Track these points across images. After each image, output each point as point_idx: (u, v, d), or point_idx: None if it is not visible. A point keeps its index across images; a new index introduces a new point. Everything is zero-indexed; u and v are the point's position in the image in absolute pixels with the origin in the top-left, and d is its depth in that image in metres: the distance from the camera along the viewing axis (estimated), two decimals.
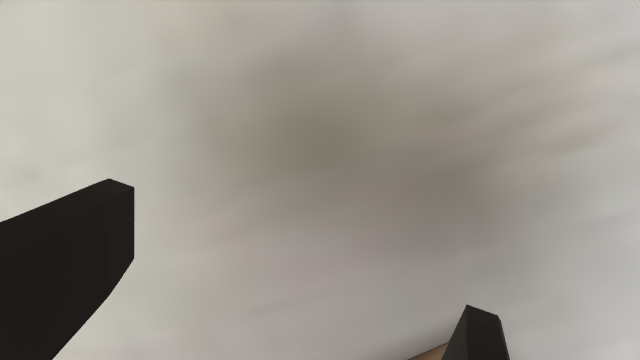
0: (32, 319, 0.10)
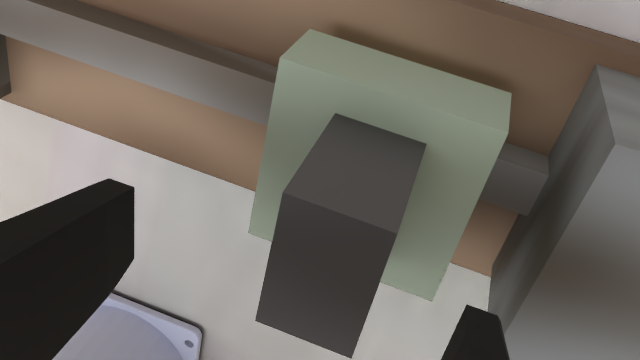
0: (32, 319, 0.10)
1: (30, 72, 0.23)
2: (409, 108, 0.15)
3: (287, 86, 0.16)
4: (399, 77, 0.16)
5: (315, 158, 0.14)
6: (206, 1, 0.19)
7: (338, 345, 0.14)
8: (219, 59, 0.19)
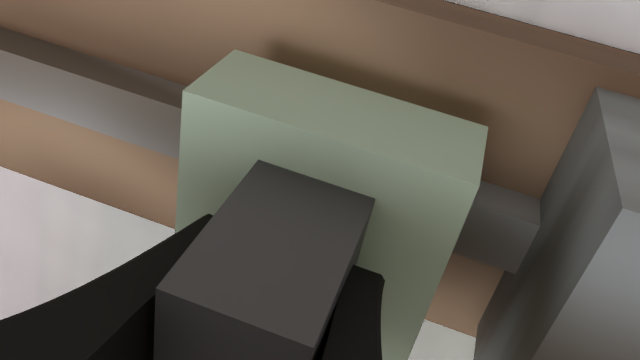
0: None
1: None
2: (350, 154, 0.11)
3: (196, 126, 0.12)
4: (342, 111, 0.12)
5: (216, 230, 0.10)
6: (120, 16, 0.16)
7: None
8: (137, 86, 0.16)
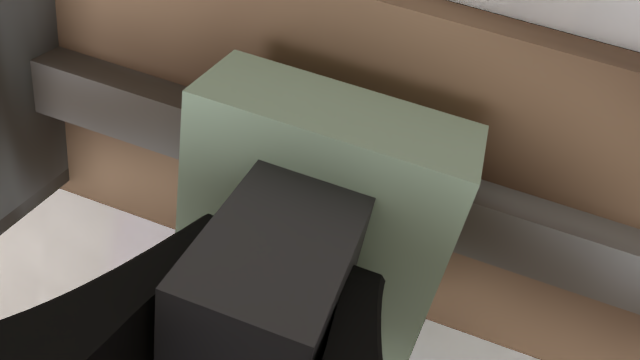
0: None
1: (94, 158, 0.19)
2: (350, 154, 0.11)
3: (196, 126, 0.12)
4: (341, 110, 0.12)
5: (216, 230, 0.10)
6: None
7: None
8: None
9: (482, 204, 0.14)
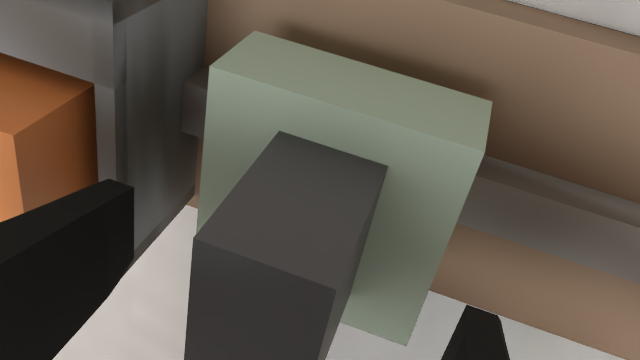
0: (32, 319, 0.10)
1: None
2: (366, 124, 0.12)
3: (221, 100, 0.13)
4: (356, 85, 0.13)
5: (244, 190, 0.11)
6: None
7: None
8: (505, 177, 0.15)
9: None
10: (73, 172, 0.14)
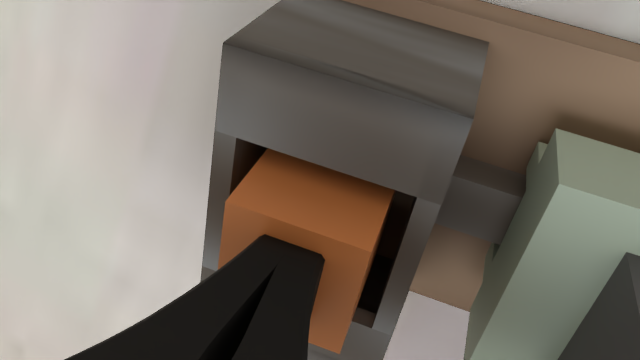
0: None
1: (445, 258, 0.18)
2: None
3: (561, 217, 0.12)
4: None
5: None
6: None
7: None
8: None
9: None
10: (368, 270, 0.14)
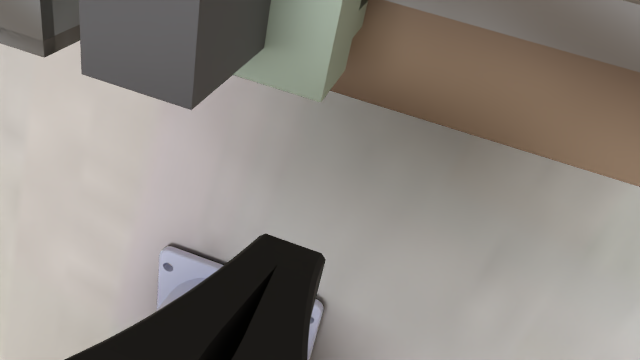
0: None
1: None
2: None
3: None
4: None
5: None
6: None
7: (174, 92, 0.12)
8: None
9: None
10: None
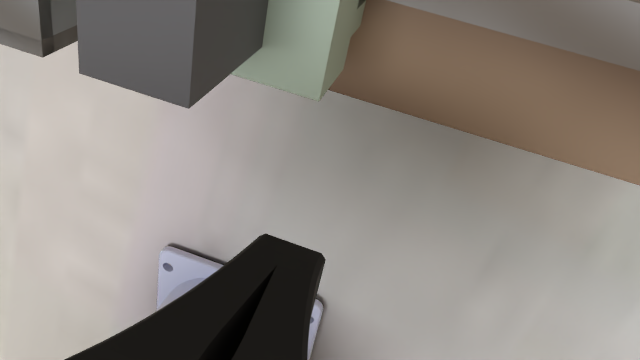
0: None
1: None
2: None
3: None
4: None
5: None
6: None
7: (172, 91, 0.12)
8: None
9: None
10: None
